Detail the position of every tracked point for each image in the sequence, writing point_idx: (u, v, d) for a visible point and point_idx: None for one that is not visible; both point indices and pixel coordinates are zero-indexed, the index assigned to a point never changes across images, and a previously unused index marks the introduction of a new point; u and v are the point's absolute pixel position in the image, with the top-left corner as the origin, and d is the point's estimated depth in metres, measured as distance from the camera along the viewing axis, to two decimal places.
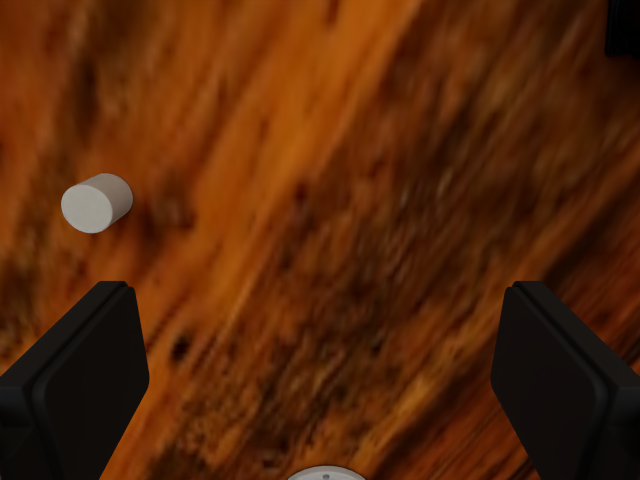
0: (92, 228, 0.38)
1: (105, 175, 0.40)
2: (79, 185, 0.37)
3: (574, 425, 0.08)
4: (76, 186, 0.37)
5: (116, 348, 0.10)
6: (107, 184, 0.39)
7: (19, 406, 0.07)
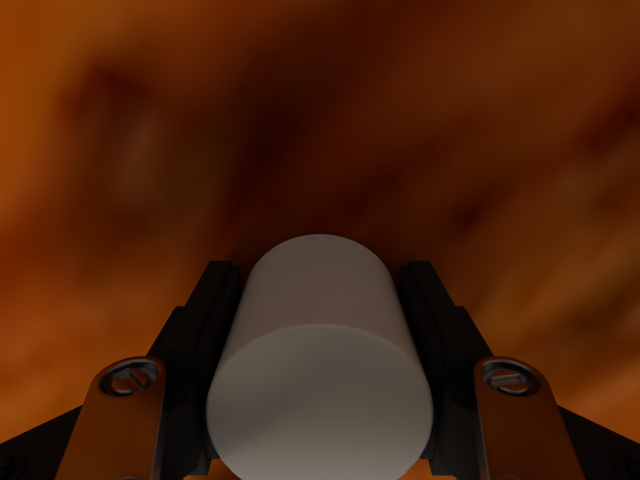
0: (355, 351, 0.08)
1: None
2: None
3: None
4: None
5: (232, 320, 0.11)
6: None
7: (185, 361, 0.08)
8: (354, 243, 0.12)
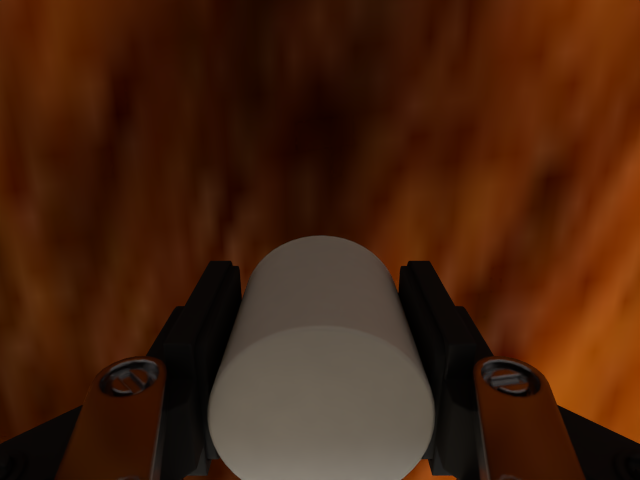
0: (357, 354, 0.08)
1: None
2: None
3: None
4: None
5: (232, 320, 0.11)
6: None
7: (185, 361, 0.08)
8: (355, 245, 0.12)
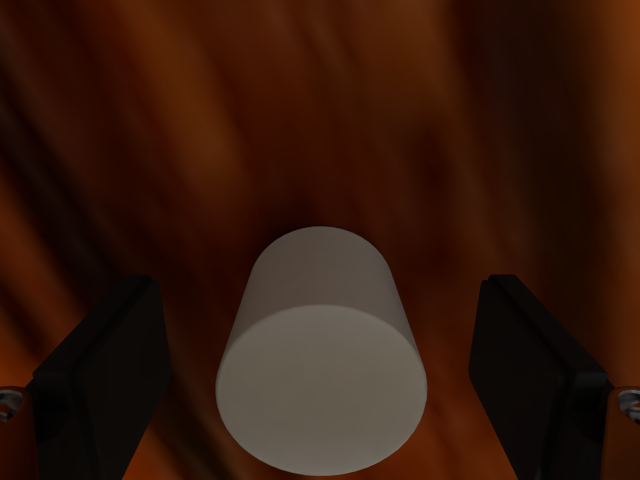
0: (354, 331, 0.08)
1: None
2: (287, 468, 0.10)
3: (538, 411, 0.08)
4: (299, 471, 0.10)
5: (143, 339, 0.10)
6: None
7: (60, 391, 0.07)
8: (353, 235, 0.12)
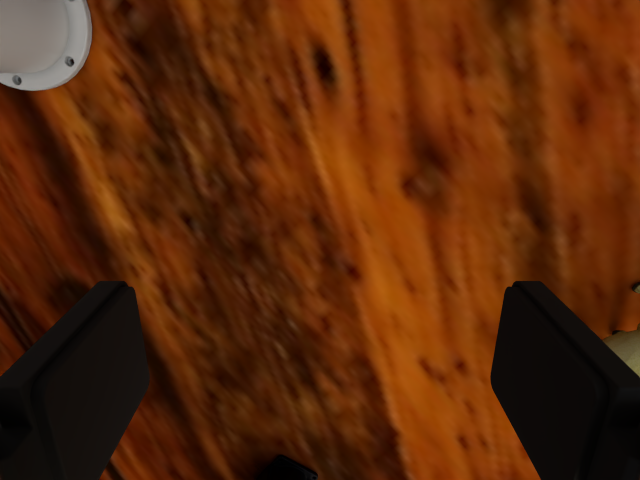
0: None
1: None
2: None
3: (574, 425, 0.08)
4: None
5: (116, 348, 0.10)
6: None
7: (19, 406, 0.07)
8: None
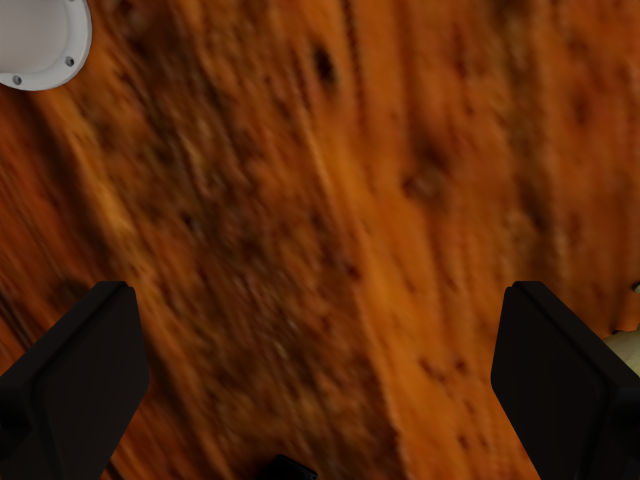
0: None
1: None
2: None
3: (574, 425, 0.08)
4: None
5: (116, 348, 0.10)
6: None
7: (19, 406, 0.07)
8: None
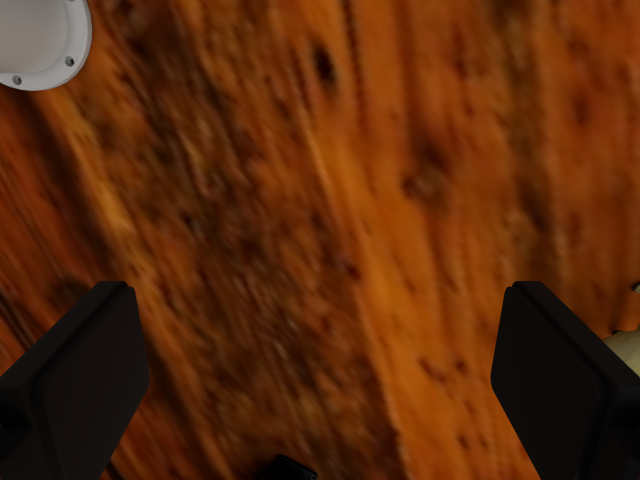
0: None
1: None
2: None
3: (574, 425, 0.08)
4: None
5: (116, 348, 0.10)
6: None
7: (19, 406, 0.07)
8: None
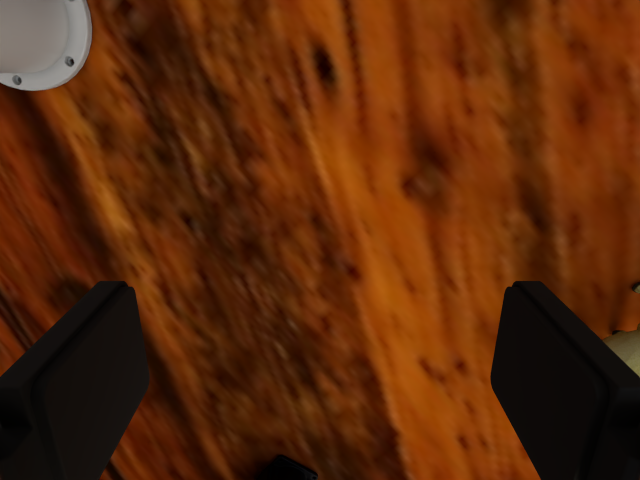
0: None
1: None
2: None
3: (574, 425, 0.08)
4: None
5: (116, 348, 0.10)
6: None
7: (19, 406, 0.07)
8: None
